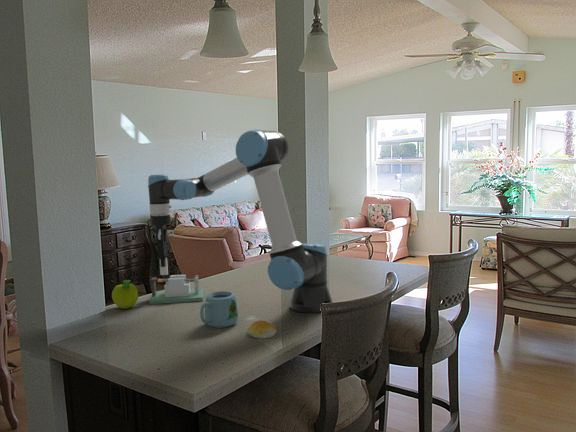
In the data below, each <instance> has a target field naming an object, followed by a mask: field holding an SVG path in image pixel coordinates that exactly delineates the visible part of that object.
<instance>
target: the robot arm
mask: <svg viewBox="0 0 576 432" xmlns="http://www.w3.org/2000/svg"><path fill="white" fill-rule="evenodd" d="M289 146H290V145H289V142H288V139H287V138H286V137H285V136H284V135H283V133H281V132H279V131H276V130H261V129H252V130H248V131H246V132H243V133H242V134H241V135H240V136H239V137H238V140H237V142H236V145H235V155H236V157H235V158H233V159H231V160H229V161H227V162H225V163H224V164H222V165H220V166H217V167H215V168H214V169H212V170H210V171H208V172H206V173H205V174H203V175H202V174H201V176H198V177H194V178H181V179H180V178H179V179H169V176H168V174H164V173H163V174H162V173H161V174H150V175H149V176H148V180H147V181H148V182H147V187H148V196H149V197H148V198H149V214H150V224H151V226H153V227H155V226H156V230H155V238H156V247H157V260H158V259H159V272H160V273H159V275H160V276H168V275H169V271H168V270H169V269H168V268H169V266H168V258H169V255H168V254H169V253H168V229H167V228H166V226H168V225H171V223H172V220H171V219H172V218H171V217H172V216H171V214H170V213H171V208H172V205H170V200H178V201H179V200H181V201H187V200H192V199H193V198H200V197H201V198H202V197H203V198H204V197H205V198H206V197H209V196H211V195H213V194H214V193H215V191H216V190H219V189H221V188H223V187H225V186H227V185H230V184H231V183H234V182H235V181H238V180H239V179H242V178H243V177H246V176H250V177H252V178H253V181H254V184H255V189H256V191H257V195H258V199H259V202H260V203H259V204H260V207H261V210H262V214H263V218H264V221H265V226H266V229H267V232H268V236H269V239H270V244H271V249H269V254H268V255H269V258H270V262H269V265H268V266H267V275H268V277H269V280H270V281H271V282H272V284H273V285H274V286H276V287H277V288H279V289H281V290H284V291H291V290H293V291H292V295H291V298H290V301H289V302H290V309H291V310H293V311H296V312H299V313H306V314H307V313H313V314H314V313H321V312H320V304H322V303H332V304H333V299H332V295H331V293H330V290H329V287H328V262H327V261H328V260H327V259H328V258H327V257H328V254H327V247H326V245H324V244H321V243H302V242H301V241H299V240H298V239H297V235H296V232H295V228H294V224H293V221H292V216H291V213H290V210H289V206H288V202H287V199H286V196H285V191H284V187H283V184H282V181H281V180H282V179H281V176H280V172H279V171H280V169H281V167H282V162H283V161H284V160H285V159H286V158H287V156H288V154H289V150H290V147H289Z"/></svg>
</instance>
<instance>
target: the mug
mask: <svg viewBox="0 0 576 432" xmlns="http://www.w3.org/2000/svg"><path fill="white" fill-rule="evenodd" d="M199 315H200V316H199V317H200V320H201V322H202V323H204V324H205V325H206V324H207V325H208V327H211V328H217V329H220V328H221V329H222V328H223V329H224V328H229V327H231V326H233V325H235V324H236V323H237V322H238V321H239V320H238V319H239V309H238V302H237V297H236V295H235V293H233V292H230V291H215V292H212V293H210V294H207V295H206V297H205V302H203V303H202V304H201V306H200V309H199Z"/></svg>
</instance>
